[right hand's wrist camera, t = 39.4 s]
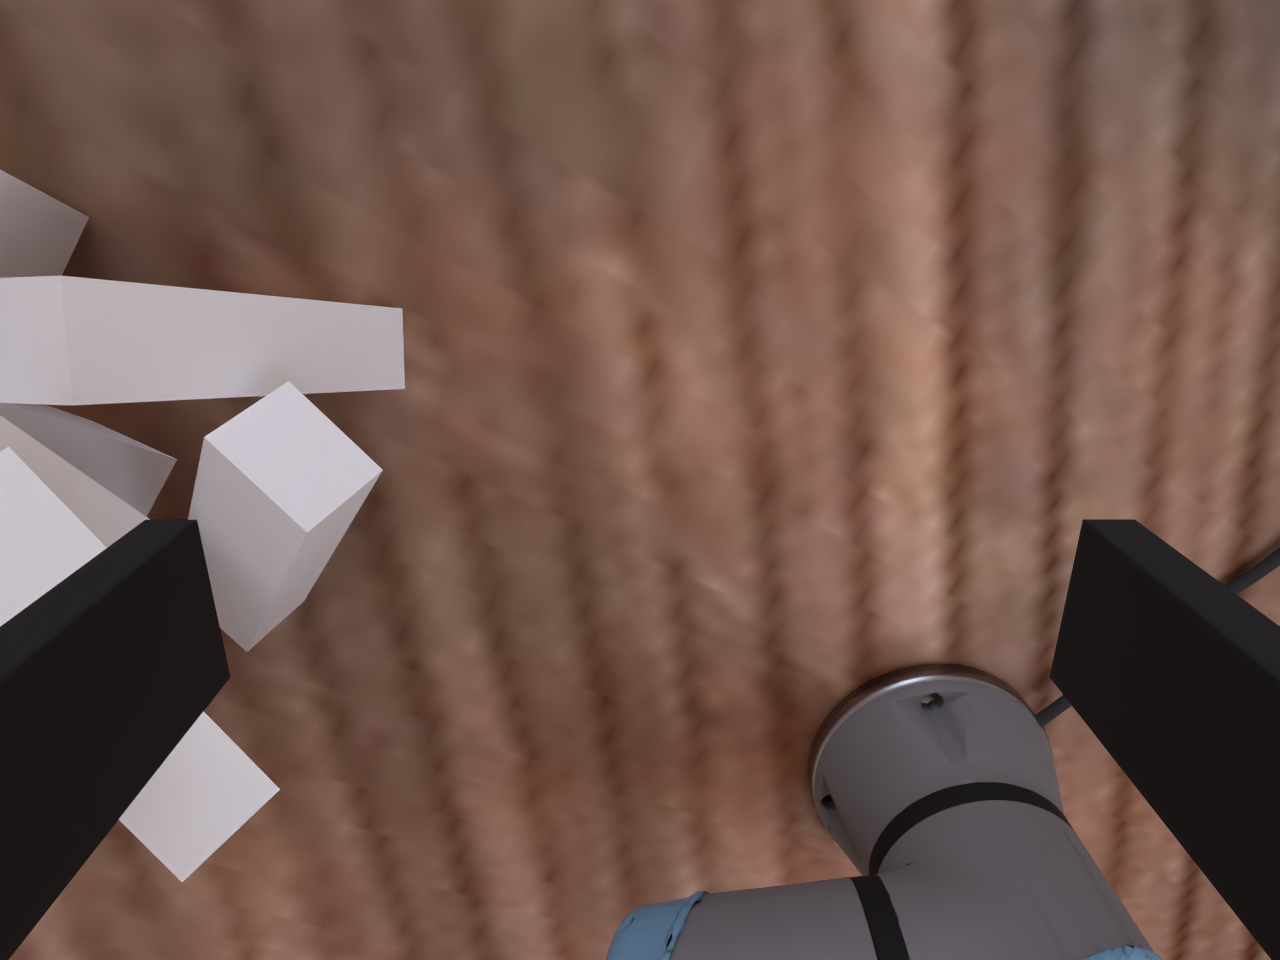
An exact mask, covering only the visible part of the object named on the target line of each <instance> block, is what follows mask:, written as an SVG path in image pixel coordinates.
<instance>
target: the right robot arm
mask: <svg viewBox="0 0 1280 960" xmlns="http://www.w3.org/2000/svg"><path fill="white" fill-rule="evenodd" d="M1279 565H1280V547H1279V548H1278V549H1277V550H1276V551H1274V552H1273V553H1272V554H1271V555H1269V556H1268V557H1266V558H1265V559H1264V560H1262V561H1261V562H1260V563H1258V564H1257V565H1255V566H1254V567H1253V568H1251V569H1250V570H1248V571H1247V572H1245V573H1244V574H1242V575H1241V576H1239V577H1238V578H1236V579H1234V580H1233V581H1231V582H1230V583H1228V584H1226V585H1225V586H1224V585H1223V584H1221V583H1220V582H1219V581H1217V580H1216V579H1214V578H1213V577H1212V576H1210V575H1209V574H1208V573H1206V572H1205V571H1204V570H1202V569H1201V568H1200V567H1198V566H1197V565H1196V564H1194V563H1193V562H1191V561H1190V560H1189V559H1187V558H1186V557H1185V556H1183V555H1182V554H1181V553H1179V552H1178V551H1177V550H1175V549H1174V548H1172V547H1171V546H1170V545H1168V544H1167V543H1166V542H1164V541H1163V540H1162V539H1160V538H1159V537H1158V536H1156V535H1155V534H1153V533H1152V532H1151V531H1149V530H1148V529H1147V528H1145V527H1144V526H1143V525H1141V524H1140V523H1139V522H1137V521H1136V520H1083V522H1082V527H1081V531H1080V536H1079V541H1078V546H1077V550H1076V555H1075V560H1074V564H1073V569H1072V574H1071V579H1070V583H1069V588H1068V593H1067V598H1066V602H1065V607H1064V612H1063V617H1062V621H1061V626H1060V631H1059V636H1058V640H1057V645H1056V650H1055V654H1054V659H1053V664H1052V669H1051V673H1050V678H1051V679H1052V681H1053V682H1054V683H1055V684H1056V686H1057V687H1058V688H1059V689H1060V691H1061V692H1062V693H1063V696H1061V697H1060V698H1058V699H1057V700H1056V701H1054V702H1053V703H1052V704H1050V705H1049V706H1048V707H1046V708H1045V709H1043V710H1042V711H1041V712H1039V713H1038V714H1037V715H1035V714H1034V713H1033V711H1032V710H1031V709H1030V707H1029V706H1028V704H1027V703H1026V702H1025V701H1024V699H1023V698H1022V697H1021V696H1020V695H1019V694H1018V693H1017V692H1016V691H1015V690H1014V689H1013V688H1011V687H1010V686H1009V685H1007V684H1006V683H1004V682H1003V681H1001V680H999V679H998V678H996V677H994V676H992V675H990V674H987V673H985V672H982V671H979V670H976V669H972V668H968V667H963V666H956V665H945V664H934V665H921V666H915V667H909V668H905V669H901V670H897V671H894V672H891V673H888V674H885V675H883V676H880V677H878V678H876V679H874V680H872V681H870V682H868V683H866V684H864V685H863V686H861V687H860V688H858V689H857V690H855V691H853V692H852V693H851V694H850V695H848V696H847V697H846V698H845V699H843V700H842V701H841V702H840V703H839V704H838V705H837V706H836V707H835V708H834V709H833V711H832V712H831V713H830V714H829V715H828V717H827V718H826V719H825V721H824V722H823V724H822V725H821V727H820V729H819V731H818V732H817V735H816V737H815V739H814V742H813V745H812V748H811V752H810V757H809V767H808V771H809V781H810V787H811V790H812V794H813V798H814V801H815V805H816V808H817V811H818V814H819V816H820V818H821V820H822V822H823V824H824V825H825V827H826V828H827V830H828V831H829V833H830V834H831V836H832V837H833V838H834V840H835V841H836V842H837V844H838V845H839V846H840V847H841V849H842V850H843V851H844V852H845V854H846V855H847V856H848V857H849V859H850V860H851V861H852V863H853V864H854V865H855V866H856V868H857V869H858V870H859V871H860V873H861V874H862V875H863V876H859V877H846V878H839V879H831V880H823V881H815V882H808V883H800V884H792V885H783V886H774V887H765V888H756V889H747V890H738V891H729V892H720V893H711V894H710V893H707V892H706V891H700V892H697V893H695V894H693V895H692V896H690V897H689V898H684V899H679V900H674V901H668V902H662V903H657V904H651V905H646V906H642V907H640V908H638V909H636V910H634V911H633V912H631V913H630V914H629V915H628V916H627V917H626V918H625V919H624V920H623V921H622V923H621V924H620V925H619V927H618V929H617V931H616V933H615V935H614V937H613V940H612V941H611V944H610V947H609V950H608V953H607V957H606V960H1162V958H1161V957H1160V956H1159V955H1157V954H1156V953H1154V951H1153V950H1152V948H1151V947H1150V945H1149V944H1148V942H1147V941H1146V939H1145V938H1144V936H1143V935H1142V933H1141V932H1140V930H1139V929H1138V927H1137V926H1136V924H1135V923H1134V921H1133V919H1132V918H1131V916H1130V915H1129V913H1128V912H1127V910H1126V909H1125V907H1124V906H1123V904H1122V903H1121V901H1120V900H1119V898H1118V897H1117V895H1116V894H1115V892H1114V891H1113V889H1112V888H1111V886H1110V884H1109V883H1108V881H1107V880H1106V878H1105V877H1104V875H1103V874H1102V872H1101V871H1100V869H1099V868H1098V866H1097V865H1096V863H1095V862H1094V860H1093V859H1092V857H1091V856H1090V854H1089V852H1088V851H1087V849H1086V848H1085V846H1084V845H1083V843H1082V842H1081V840H1080V839H1079V837H1078V836H1077V834H1076V833H1075V831H1074V830H1073V828H1072V827H1071V825H1070V824H1069V822H1068V820H1067V819H1066V817H1065V816H1064V812H1063V807H1062V801H1061V796H1060V791H1059V786H1058V781H1057V776H1056V772H1055V767H1054V761H1053V755H1052V750H1051V747H1050V743H1049V740H1048V737H1047V735H1046V732H1045V730H1044V728H1043V726H1044V725H1046V724H1047V723H1048V722H1050V721H1051V720H1052V719H1054V718H1055V717H1057V716H1058V715H1059V714H1061V713H1062V712H1063V711H1065V710H1066V709H1067V708H1069V707H1070V706H1073V707H1074V709H1075V710H1076V711H1077V712H1078V714H1079V715H1080V716H1081V718H1082V719H1083V720H1084V721H1085V723H1086V724H1087V725H1088V726H1089V728H1090V729H1091V730H1092V732H1093V733H1094V734H1095V735H1096V737H1097V738H1098V739H1099V740H1100V742H1101V743H1102V744H1103V746H1104V747H1105V748H1106V749H1107V751H1108V752H1109V753H1110V754H1111V756H1112V757H1113V758H1114V760H1115V761H1116V762H1117V763H1118V765H1119V766H1120V767H1121V768H1122V770H1123V771H1124V772H1125V774H1126V775H1127V776H1128V777H1129V779H1130V780H1131V781H1132V783H1133V784H1134V785H1135V786H1136V788H1137V789H1138V790H1139V791H1140V793H1141V794H1142V795H1143V797H1144V798H1145V799H1146V800H1147V802H1148V803H1149V804H1150V805H1151V807H1152V808H1153V809H1154V811H1155V812H1156V813H1157V814H1158V816H1159V817H1160V818H1161V819H1162V821H1163V822H1164V823H1165V825H1166V826H1167V827H1168V828H1169V830H1170V831H1171V832H1172V833H1173V835H1174V836H1175V837H1176V839H1177V840H1178V841H1179V842H1180V844H1181V845H1182V846H1183V848H1184V849H1185V850H1186V851H1187V853H1188V854H1189V855H1190V856H1191V858H1192V859H1193V860H1194V862H1195V863H1196V864H1197V865H1198V867H1199V868H1200V869H1201V870H1202V872H1203V873H1204V874H1205V876H1206V877H1207V878H1208V879H1209V881H1210V882H1211V883H1212V884H1213V886H1214V887H1215V888H1216V890H1217V891H1218V892H1219V893H1220V895H1221V896H1222V897H1223V898H1224V900H1225V901H1226V902H1227V904H1228V905H1229V906H1230V907H1231V909H1232V910H1233V911H1234V913H1235V914H1236V915H1237V916H1238V918H1239V919H1240V920H1241V921H1242V923H1243V924H1244V925H1245V927H1246V928H1247V929H1248V930H1249V932H1250V933H1251V934H1252V935H1253V937H1254V938H1255V939H1256V941H1257V942H1258V943H1259V944H1260V946H1261V947H1262V948H1263V949H1264V951H1265V952H1266V953H1267V955H1268V956H1269V957H1270V958H1271V960H1280V626H1278V625H1277V624H1276V623H1274V622H1273V621H1271V620H1270V619H1269V618H1267V617H1266V616H1265V615H1263V614H1262V613H1261V612H1259V611H1258V610H1257V609H1255V608H1254V607H1252V606H1251V605H1250V604H1248V603H1247V602H1246V601H1244V600H1243V599H1242V598H1240V597H1239V596H1238V595H1236V594H1238V593H1239V592H1241V591H1243V590H1244V589H1246V588H1247V587H1249V586H1251V585H1252V584H1254V583H1255V582H1257V581H1258V580H1260V579H1261V578H1263V577H1264V576H1265V575H1267V574H1268V573H1270V572H1271V571H1273V570H1274V569H1275V568H1277V567H1278V566H1279ZM229 678H230V673H229V669H228V664H227V659H226V654H225V650H224V645H223V640H222V636H221V631H220V626H219V621H218V617H217V612H216V607H215V602H214V598H213V593H212V588H211V583H210V579H209V574H208V569H207V564H206V560H205V555H204V550H203V546H202V541H201V536H200V531H199V527H198V522H197V520H144V521H143V522H141V523H140V524H139V525H137V526H136V527H135V528H133V529H132V530H131V531H129V532H128V533H127V534H125V535H124V536H122V537H121V538H120V539H118V540H117V541H116V542H114V543H113V544H112V545H110V546H109V547H108V548H106V549H105V550H103V551H102V552H101V553H99V554H98V555H97V556H95V557H94V558H93V559H91V560H90V561H89V562H87V563H86V564H84V565H83V566H82V567H80V568H79V569H78V570H76V571H75V572H74V573H72V574H71V575H70V576H68V577H67V578H66V579H64V580H63V581H61V582H60V583H59V584H57V585H56V586H55V587H53V588H52V589H51V590H49V591H48V592H47V593H45V594H44V595H42V596H41V597H40V598H38V599H37V600H36V601H34V602H33V603H32V604H30V605H29V606H28V607H26V608H25V609H23V610H22V611H21V612H19V613H18V614H17V615H15V616H14V617H13V618H11V619H10V620H9V621H7V622H6V623H4V624H3V625H2V626H0V960H9V958H10V957H11V956H12V955H13V953H14V952H15V951H16V949H17V948H18V947H19V946H20V944H21V943H22V942H23V941H24V939H25V938H26V937H27V935H28V934H29V933H30V932H31V930H32V929H33V928H34V927H35V925H36V924H37V923H38V921H39V920H40V919H41V918H42V916H43V915H44V914H45V913H46V911H47V910H48V909H49V907H50V906H51V905H52V904H53V902H54V901H55V900H56V898H57V897H58V896H59V895H60V893H61V892H62V891H63V890H64V888H65V887H66V886H67V884H68V883H69V882H70V881H71V879H72V878H73V877H74V876H75V874H76V873H77V872H78V870H79V869H80V868H81V867H82V865H83V864H84V863H85V862H86V860H87V859H88V858H89V856H90V855H91V854H92V853H93V851H94V850H95V849H96V848H97V846H98V845H99V844H100V842H101V841H102V840H103V839H104V837H105V836H106V835H107V833H108V832H109V831H110V830H111V828H112V827H113V826H114V825H115V823H116V822H117V821H118V819H119V818H120V817H121V816H122V814H123V813H124V812H125V811H126V809H127V808H128V807H129V805H130V804H131V803H132V802H133V800H134V799H135V798H136V797H137V795H138V794H139V793H140V791H141V790H142V789H143V788H144V786H145V785H146V784H147V783H148V781H149V780H150V779H151V777H152V776H153V775H154V774H155V772H156V771H157V770H158V768H159V767H160V766H161V765H162V763H163V762H164V761H165V760H166V758H167V757H168V756H169V754H170V753H171V752H172V751H173V749H174V748H175V747H176V746H177V744H178V743H179V742H180V740H181V739H182V738H183V737H184V735H185V734H186V733H187V732H188V730H189V729H190V728H191V726H192V725H193V724H194V723H195V721H196V720H197V719H198V718H199V716H200V715H201V714H202V712H203V711H204V710H205V709H206V707H207V706H208V705H209V704H210V702H211V701H212V700H213V698H214V697H215V696H216V695H217V693H218V692H219V691H220V689H221V688H222V687H223V686H224V684H225V683H226V682H227V681H228V679H229Z"/></svg>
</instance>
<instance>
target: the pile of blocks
mask: <svg viewBox="0 0 1280 960" xmlns="http://www.w3.org/2000/svg"><path fill="white" fill-rule="evenodd" d="M88 219H89V217H88V216H86V215H84V214H82V213H80V212H79V211H77V210H75V209H73V208H71V207H69V206H67V205H66V204H64V203H62V202H60V201H58V200H56V199H54V198H52V197H51V196H49V195H47V194H45V193H43V192H41V191H39V190H38V189H36V188H34V187H32V186H30V185H28V184H26V183H24V182H23V181H21V180H19V179H17V178H15V177H13V176H11V175H9V174H8V173H6V172H4V171H2V170H0V626H2V625H3V624H4V623H6V622H7V621H9V620H10V619H11V618H13V617H14V616H15V615H17V614H18V613H19V612H21V611H22V610H23V609H25V608H26V607H28V606H29V605H30V604H32V603H33V602H34V601H36V600H37V599H38V598H40V597H41V596H42V595H44V594H45V593H47V592H48V591H49V590H51V589H52V588H53V587H55V586H56V585H57V584H59V583H60V582H61V581H63V580H64V579H66V578H67V577H68V576H70V575H71V574H72V573H74V572H75V571H76V570H78V569H79V568H80V567H82V566H83V565H84V564H86V563H87V562H89V561H90V560H91V559H93V558H94V557H95V556H97V555H98V554H99V553H101V552H102V551H103V550H105V549H106V548H108V547H109V546H110V545H112V544H113V543H114V542H116V541H117V540H118V539H120V538H121V537H122V536H124V535H125V534H127V533H128V532H129V531H131V530H132V529H133V528H135V527H136V526H137V525H139V524H140V523H141V522H143V521H144V520H150V519H149V518H147V515H148V513H149V511H150V509H151V508H152V506H153V504H154V502H155V500H156V498H157V496H158V495H159V493H160V491H161V489H162V487H163V485H164V484H165V482H166V480H167V478H168V476H169V474H170V472H171V471H172V469H173V467H174V465H175V463H176V461H177V459H175V458H173V457H171V456H169V455H166V454H164V453H162V452H160V451H158V450H155V449H153V448H151V447H149V446H147V445H144V444H142V443H140V442H138V441H136V440H133V439H131V438H129V437H127V436H125V435H122V434H120V433H118V432H116V431H114V430H111V429H109V428H107V427H105V426H103V425H100V424H98V423H96V422H94V421H91V420H88V419H85V418H82V417H80V416H77V415H74V414H71V413H68V412H65V411H62V410H59V409H56V408H53V407H51V406H48V405H91V404H111V403H131V402H151V401H171V400H191V399H211V398H231V397H251V396H265V397H264V398H262V399H261V400H259V401H258V402H256V403H255V404H253V405H252V406H250V407H249V408H247V409H246V410H244V411H243V412H241V413H240V414H238V415H237V416H235V417H234V418H232V419H231V420H229V421H228V422H226V423H225V424H223V425H222V426H220V427H219V428H217V429H216V430H214V431H213V432H211V433H210V434H208V435H206V436H205V437H204V441H203V446H202V451H201V456H200V461H199V466H198V471H197V476H196V481H195V486H194V491H193V496H192V501H191V506H190V511H189V516H188V520H197V522H198V527H199V531H200V536H201V541H202V546H203V550H204V555H205V560H206V564H207V569H208V574H209V579H210V583H211V588H212V593H213V598H214V602H215V607H216V612H217V617H218V621H219V626H220V628H221V629H222V630H223V631H224V632H225V633H226V634H228V635H229V636H230V637H231V638H232V639H233V640H234V641H235V642H236V643H237V644H239V645H240V646H241V647H242V648H243V649H244V650H245V651H246V652H248V651H249V650H250V649H251V648H252V647H253V646H254V645H256V644H257V643H258V642H259V641H260V640H261V639H262V638H263V637H265V636H266V635H267V634H268V633H269V632H270V631H271V630H272V629H273V628H275V627H276V626H277V625H278V624H279V623H280V622H281V621H282V620H284V619H285V618H286V617H287V616H288V615H289V614H290V613H291V612H292V611H294V610H295V609H296V608H297V607H298V606H299V605H300V604H301V603H302V602H304V601H305V599H306V597H307V596H308V594H309V592H310V591H311V589H312V587H313V586H314V584H315V582H316V581H317V579H318V577H319V576H320V574H321V572H322V571H323V569H324V567H325V566H326V564H327V562H328V561H329V559H330V557H331V556H332V554H333V552H334V551H335V549H336V547H337V546H338V544H339V542H340V541H341V539H342V537H343V536H344V534H345V532H346V531H347V529H348V527H349V526H350V524H351V522H352V521H353V519H354V517H355V516H356V514H357V512H358V511H359V509H360V507H361V506H362V504H363V502H364V501H365V499H366V497H367V496H368V494H369V492H370V491H371V489H372V487H373V486H374V484H375V482H376V481H377V479H378V477H379V476H380V474H381V472H382V471H383V470H382V469H381V468H380V467H379V466H378V465H377V464H376V463H375V462H374V461H373V460H372V459H371V458H370V457H368V456H367V455H366V454H365V453H364V452H363V451H362V450H361V449H360V448H359V447H358V446H357V445H356V444H355V443H354V442H353V441H352V440H350V439H349V438H348V437H347V436H346V435H345V434H344V433H343V432H342V431H341V430H340V429H339V428H338V427H337V426H336V425H335V424H334V423H333V422H331V421H330V420H329V419H328V418H327V417H326V416H325V415H324V414H323V413H322V412H321V411H320V410H319V409H318V408H317V407H316V406H315V405H313V404H312V403H311V402H310V401H309V400H308V399H307V398H306V397H305V396H304V395H303V394H311V393H331V392H351V391H371V390H391V389H405V376H404V346H403V316H402V309H401V308H391V307H381V306H370V305H360V304H350V303H339V302H329V301H319V300H308V299H298V298H288V297H277V296H267V295H257V294H246V293H236V292H226V291H215V290H205V289H195V288H184V287H174V286H164V285H153V284H143V283H133V282H122V281H112V280H101V279H91V278H81V277H70V276H62V274H63V272H64V270H65V268H66V266H67V264H68V262H69V259H70V257H71V255H72V253H73V251H74V249H75V247H76V245H77V242H78V240H79V238H80V236H81V234H82V232H83V230H84V228H85V225H86V223H87V221H88ZM45 404H47V405H45ZM279 790H280V789H279V788H278V787H277V786H276V785H275V784H274V783H273V782H272V781H271V780H270V779H269V778H268V777H267V776H266V775H265V774H264V773H263V772H262V771H261V770H260V769H259V768H258V767H257V765H256V764H255V763H254V762H253V761H252V760H251V759H250V758H249V757H248V756H247V755H246V754H245V753H244V752H243V751H242V750H241V749H240V748H239V747H238V746H237V745H236V744H235V743H234V742H233V741H232V740H231V739H230V738H229V737H228V736H227V735H226V734H225V733H224V732H223V731H222V730H221V729H220V728H219V727H218V726H217V725H216V724H215V723H214V722H213V721H212V720H211V718H210V717H209V716H208V715H207V714H206V713H205V712H204V711H203V712H202V714H201V715H200V716H199V718H198V719H197V720H196V721H195V723H194V724H193V725H192V726H191V728H190V729H189V730H188V732H187V733H186V734H185V735H184V737H183V738H182V739H181V740H180V742H179V743H178V744H177V746H176V747H175V748H174V749H173V751H172V752H171V753H170V754H169V756H168V757H167V758H166V760H165V761H164V762H163V763H162V765H161V766H160V767H159V768H158V770H157V771H156V772H155V774H154V775H153V776H152V777H151V779H150V780H149V781H148V783H147V784H146V785H145V786H144V788H143V789H142V790H141V791H140V793H139V794H138V795H137V797H136V798H135V799H134V800H133V802H132V803H131V804H130V805H129V807H128V808H127V809H126V811H125V812H124V813H123V814H122V816H121V817H120V818H119V820H120V821H121V822H122V823H123V824H124V825H125V826H126V827H127V828H128V829H129V830H130V831H131V832H132V833H133V834H134V835H135V836H136V837H137V838H138V839H139V840H140V841H141V842H142V843H143V844H144V845H145V846H146V847H147V848H148V849H149V850H150V851H151V852H152V853H153V854H154V855H155V856H156V857H157V858H158V859H159V860H160V861H161V862H162V863H163V864H164V865H165V866H166V867H167V868H168V869H169V870H170V871H171V872H172V873H173V874H174V875H175V876H176V877H177V878H178V879H179V880H180V881H181V882H183V881H184V880H185V879H186V878H187V877H188V876H189V875H190V874H191V873H193V872H194V871H195V870H196V869H197V868H198V867H199V866H200V865H201V864H202V863H203V862H204V861H205V860H206V859H207V858H208V857H209V856H210V855H211V854H213V853H214V852H215V851H216V850H217V849H218V848H219V847H220V846H221V845H222V844H223V843H224V842H225V841H226V840H227V839H228V838H229V837H230V836H231V835H233V834H234V833H235V832H236V831H237V830H238V829H239V828H240V827H241V826H242V825H243V824H244V823H245V822H246V821H247V820H248V819H249V818H250V817H251V816H253V815H254V814H255V813H256V812H257V811H258V810H259V809H260V808H261V807H262V806H263V805H264V804H265V803H266V802H267V801H268V800H269V799H270V798H271V797H273V796H274V795H275V794H276V793H277V792H278V791H279Z"/></svg>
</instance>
